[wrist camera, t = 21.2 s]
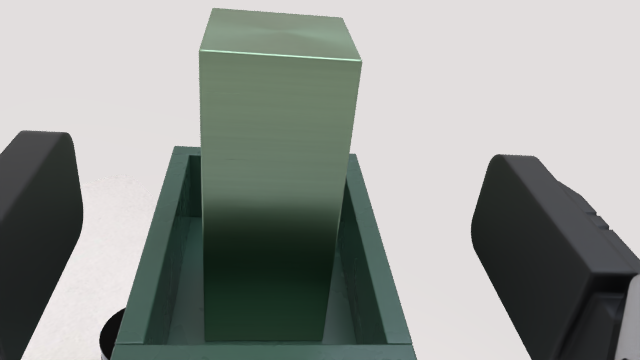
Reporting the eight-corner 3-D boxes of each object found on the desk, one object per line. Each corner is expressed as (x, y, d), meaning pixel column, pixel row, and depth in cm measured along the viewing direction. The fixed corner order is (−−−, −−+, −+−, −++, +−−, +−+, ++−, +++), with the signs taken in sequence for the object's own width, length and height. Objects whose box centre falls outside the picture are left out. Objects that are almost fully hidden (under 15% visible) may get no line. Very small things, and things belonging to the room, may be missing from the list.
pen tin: (313, 264, 24) (343, 17, 18) (322, 341, 20) (362, 60, 15) (213, 263, 24) (212, 7, 18) (204, 341, 20) (198, 49, 14)
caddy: (346, 220, 28) (356, 153, 26) (396, 448, 18) (419, 365, 15) (177, 215, 27) (174, 145, 25) (121, 455, 16) (107, 366, 14)
